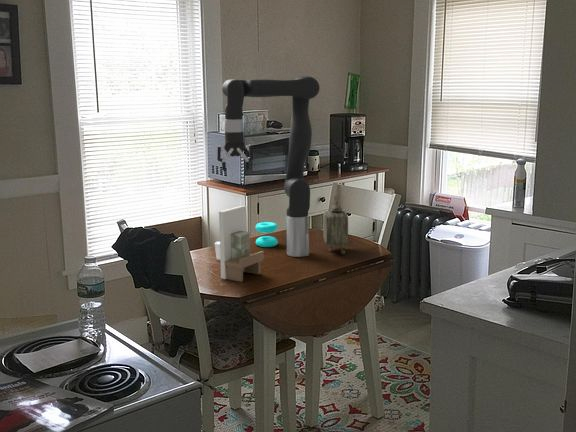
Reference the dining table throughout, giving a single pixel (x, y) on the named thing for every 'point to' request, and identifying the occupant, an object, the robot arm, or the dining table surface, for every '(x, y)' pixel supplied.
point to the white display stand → (231, 268)
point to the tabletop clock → (335, 227)
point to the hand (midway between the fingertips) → (235, 171)
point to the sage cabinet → (240, 244)
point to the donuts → (266, 240)
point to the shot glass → (217, 249)
